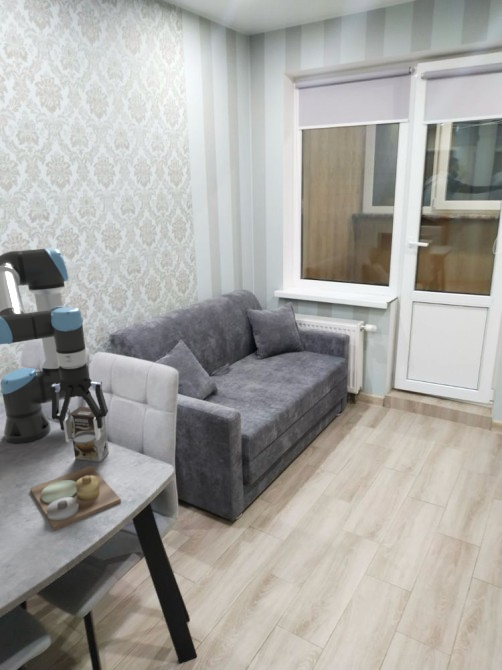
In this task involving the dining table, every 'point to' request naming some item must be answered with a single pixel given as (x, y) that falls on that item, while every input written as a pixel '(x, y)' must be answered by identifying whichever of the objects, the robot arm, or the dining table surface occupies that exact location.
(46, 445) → the dining table surface
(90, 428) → the coffee box
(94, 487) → the tray
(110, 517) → the dining table surface
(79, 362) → the robot arm
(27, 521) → the dining table surface
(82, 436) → the pocket watch
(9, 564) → the dining table surface
